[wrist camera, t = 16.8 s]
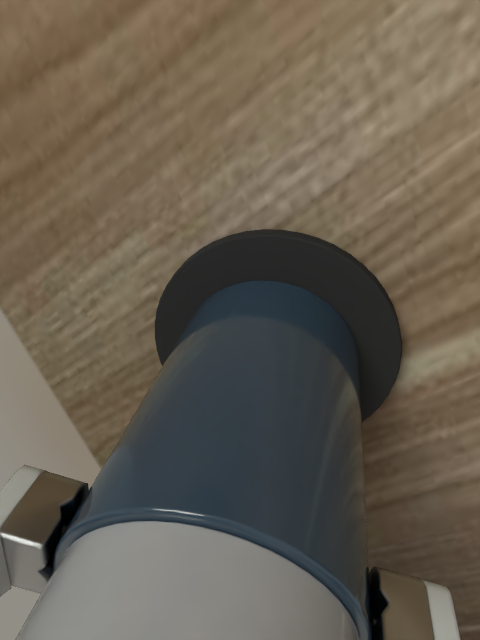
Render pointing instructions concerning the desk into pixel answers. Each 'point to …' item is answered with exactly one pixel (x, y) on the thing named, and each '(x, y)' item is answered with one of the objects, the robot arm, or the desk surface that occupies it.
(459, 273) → the desk surface
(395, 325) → the coaster
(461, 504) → the desk surface
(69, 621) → the jar
